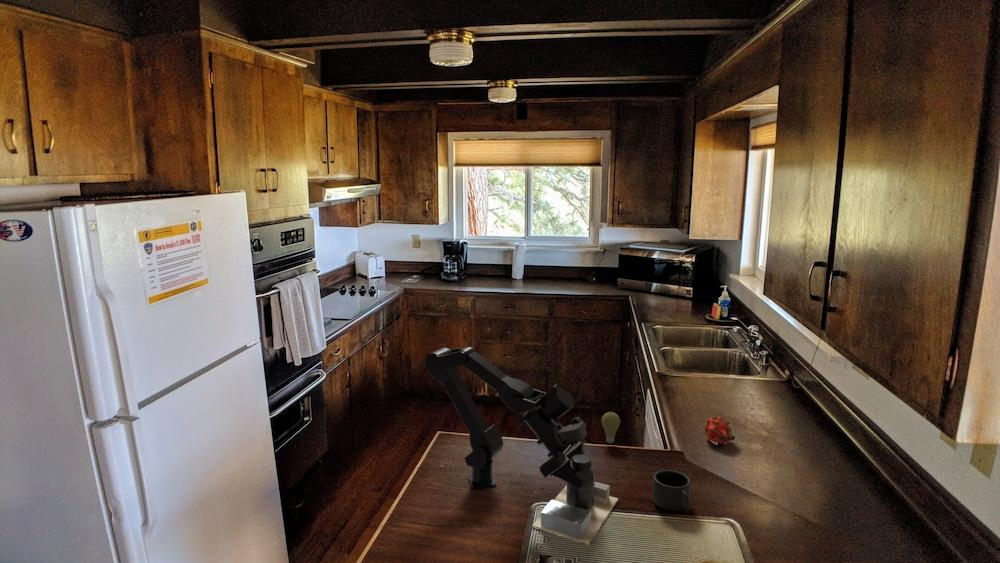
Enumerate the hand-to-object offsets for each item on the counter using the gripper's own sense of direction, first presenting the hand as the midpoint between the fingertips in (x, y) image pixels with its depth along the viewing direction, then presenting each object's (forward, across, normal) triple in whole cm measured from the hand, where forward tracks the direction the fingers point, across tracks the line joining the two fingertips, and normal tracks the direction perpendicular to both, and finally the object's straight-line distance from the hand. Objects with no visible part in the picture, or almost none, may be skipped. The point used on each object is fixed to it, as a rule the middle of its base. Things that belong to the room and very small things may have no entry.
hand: (585, 480), depth 139 cm
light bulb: (+2, +39, +9) cm, 40 cm away
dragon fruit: (+23, +54, -12) cm, 60 cm away
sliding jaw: (+4, -10, +6) cm, 12 cm away
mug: (+19, +11, -8) cm, 24 cm away
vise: (+5, -3, +6) cm, 8 cm away
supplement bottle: (+4, 0, +6) cm, 7 cm away
